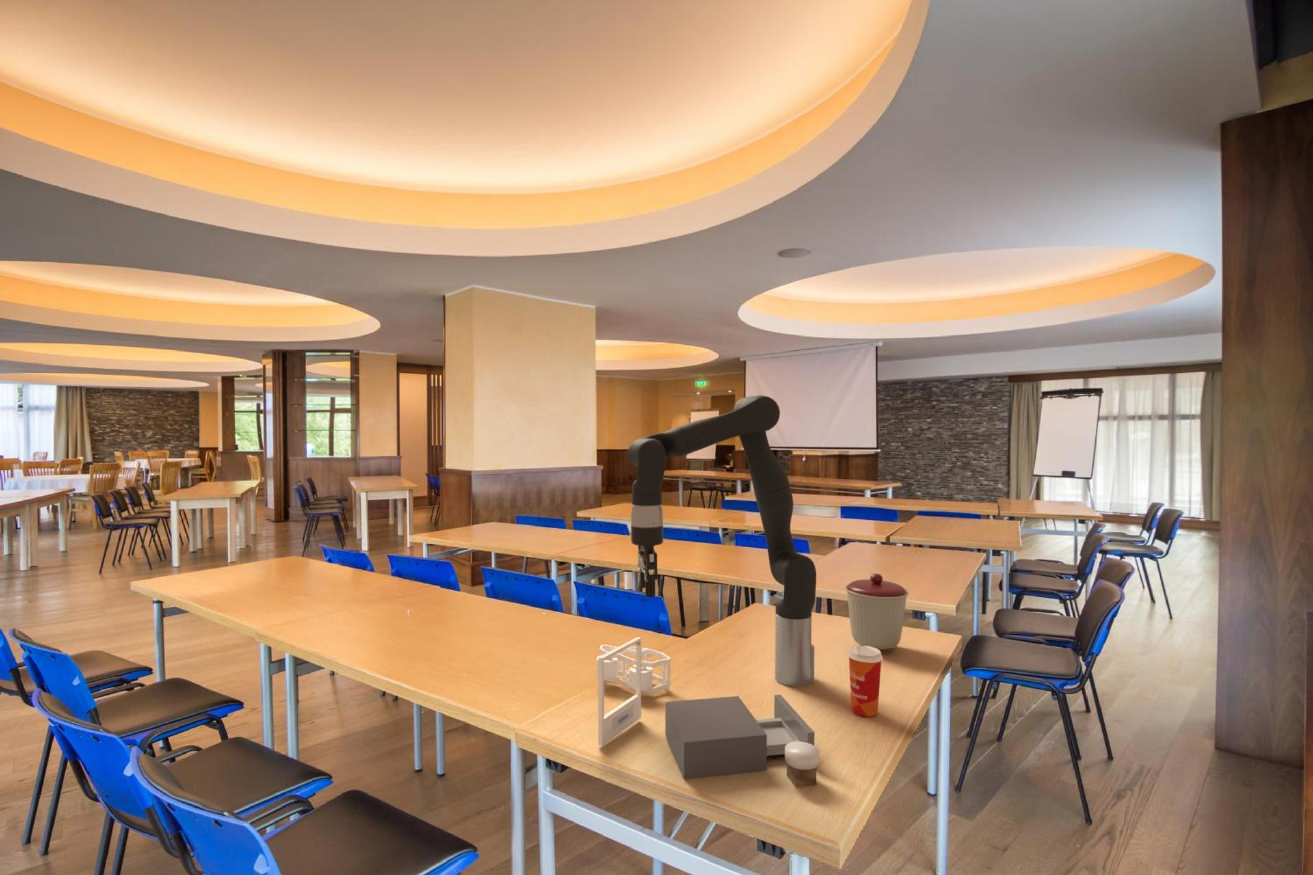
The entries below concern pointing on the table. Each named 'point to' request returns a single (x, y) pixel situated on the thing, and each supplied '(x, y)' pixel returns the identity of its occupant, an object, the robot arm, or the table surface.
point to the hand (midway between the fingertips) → (647, 591)
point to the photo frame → (626, 711)
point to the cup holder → (646, 669)
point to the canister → (876, 611)
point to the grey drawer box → (714, 737)
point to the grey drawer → (785, 727)
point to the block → (801, 776)
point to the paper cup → (864, 679)
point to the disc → (801, 755)
